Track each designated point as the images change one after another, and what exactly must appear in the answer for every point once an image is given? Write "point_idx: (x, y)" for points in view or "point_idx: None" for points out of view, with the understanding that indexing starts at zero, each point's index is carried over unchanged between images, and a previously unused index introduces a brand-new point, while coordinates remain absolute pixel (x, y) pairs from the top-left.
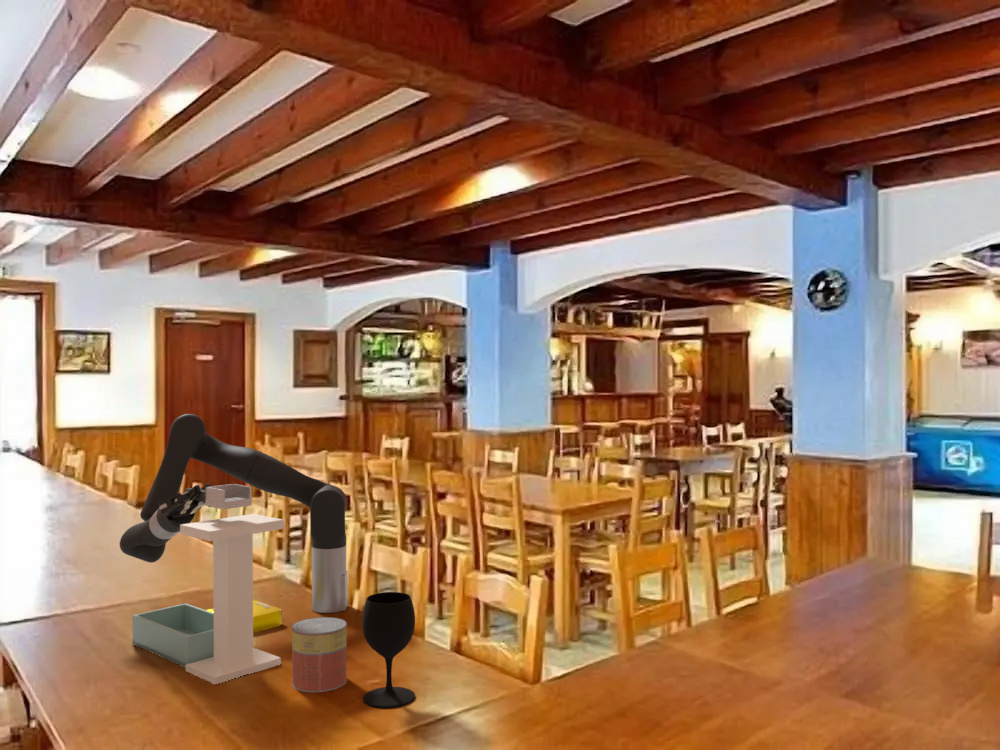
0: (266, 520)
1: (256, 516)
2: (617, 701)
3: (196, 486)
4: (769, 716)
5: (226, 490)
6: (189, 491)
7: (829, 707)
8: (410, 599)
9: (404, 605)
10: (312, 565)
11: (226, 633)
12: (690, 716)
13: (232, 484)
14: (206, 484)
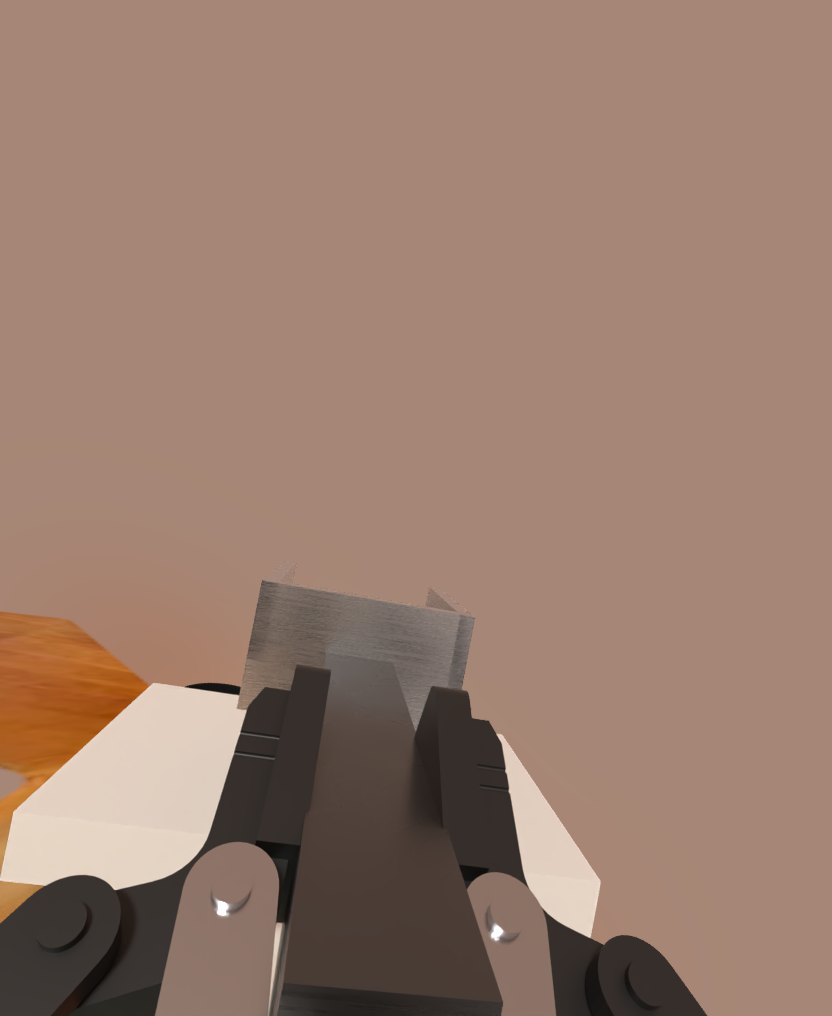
0: (208, 706)
1: (120, 761)
2: (68, 720)
3: (461, 699)
4: (65, 664)
5: (323, 627)
6: (507, 809)
7: (25, 646)
8: (203, 685)
9: (226, 690)
10: None
11: None
12: (90, 689)
13: (284, 583)
14: (329, 680)
